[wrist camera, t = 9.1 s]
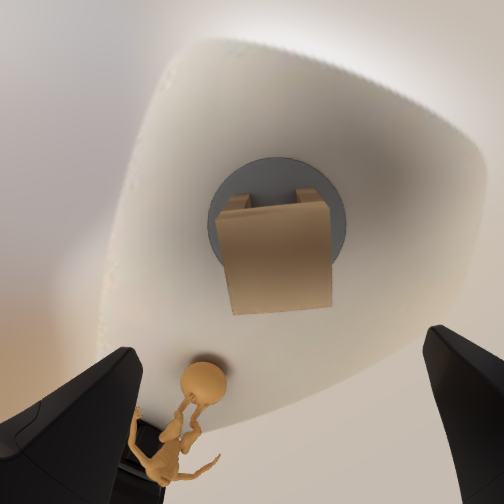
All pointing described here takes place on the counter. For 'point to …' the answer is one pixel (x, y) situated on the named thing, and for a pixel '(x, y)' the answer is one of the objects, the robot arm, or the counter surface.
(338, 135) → the counter surface
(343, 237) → the charcoal mat
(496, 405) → the robot arm
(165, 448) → the figurine
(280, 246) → the oak stool
